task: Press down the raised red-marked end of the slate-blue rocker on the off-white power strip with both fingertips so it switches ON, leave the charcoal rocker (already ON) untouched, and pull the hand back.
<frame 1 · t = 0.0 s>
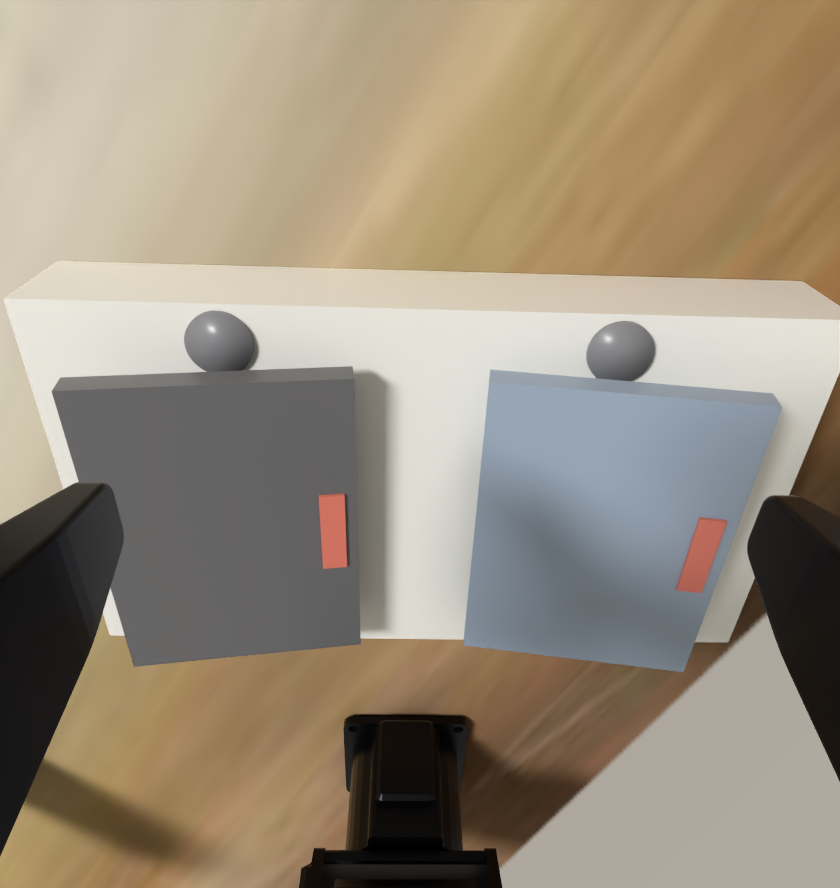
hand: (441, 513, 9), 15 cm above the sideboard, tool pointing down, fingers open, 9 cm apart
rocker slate: (595, 527, 22), point 5 cm above the sideboard, hinge at -8.0°
rocker charcoal: (234, 521, 22), point 5 cm above the sideboard, hinge at 8.0°
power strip: (427, 446, 26), on the sideboard
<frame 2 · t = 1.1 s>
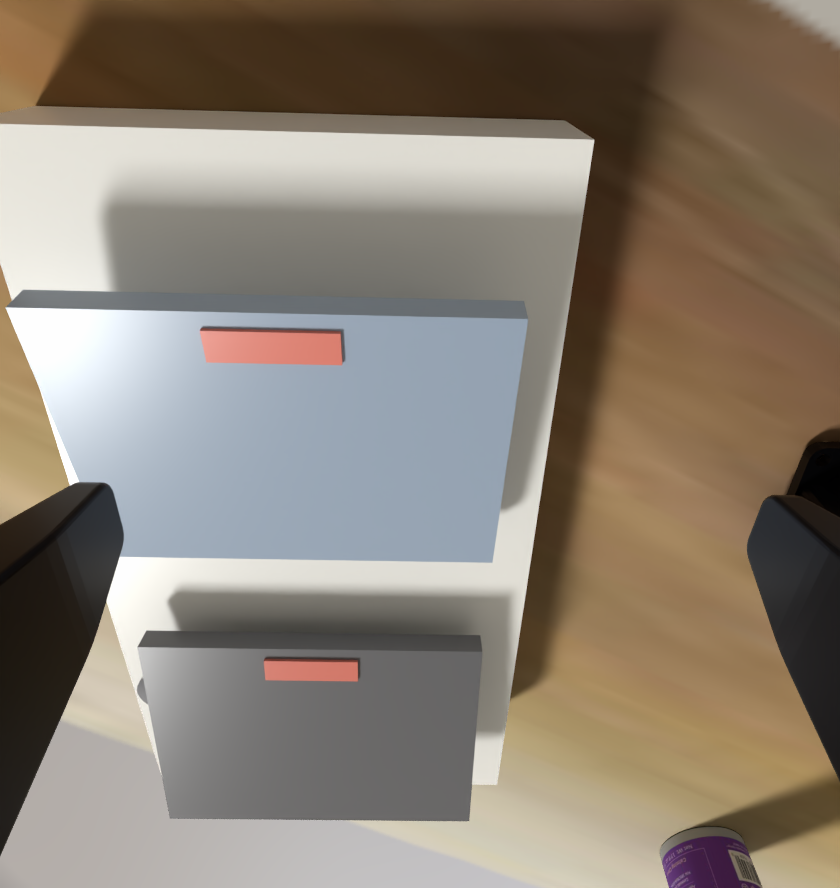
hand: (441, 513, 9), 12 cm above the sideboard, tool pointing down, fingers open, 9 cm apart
container: (700, 844, 38), on the sideboard
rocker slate: (293, 433, 17), point 5 cm above the sideboard, hinge at -8.0°
rocker charcoal: (318, 720, 24), point 5 cm above the sideboard, hinge at 8.0°
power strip: (325, 493, 24), on the sideboard
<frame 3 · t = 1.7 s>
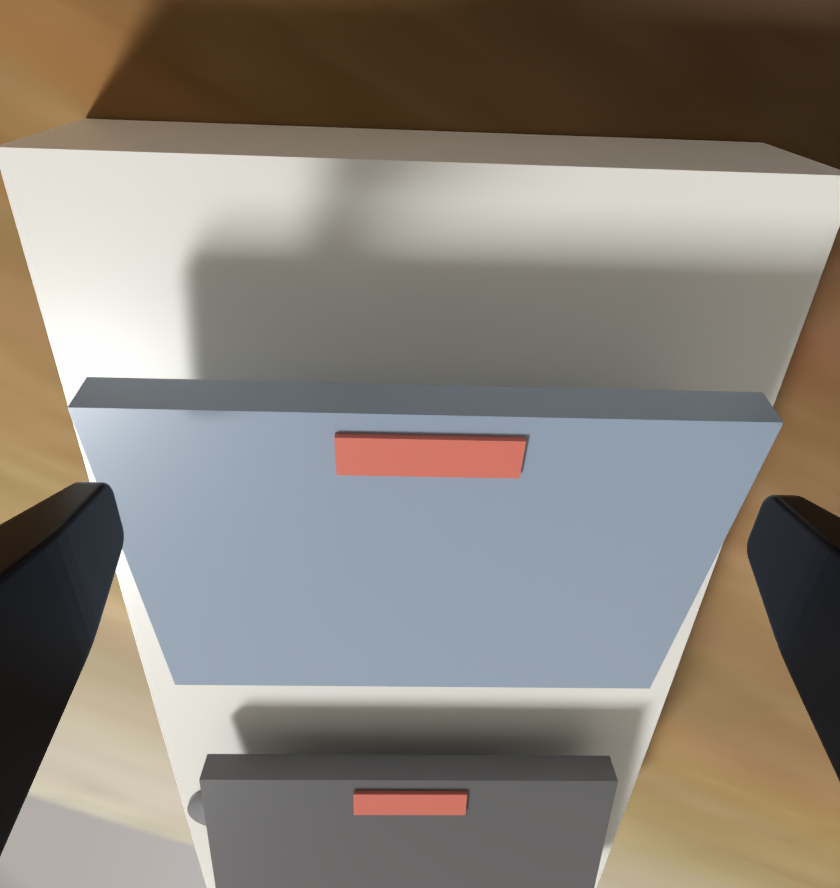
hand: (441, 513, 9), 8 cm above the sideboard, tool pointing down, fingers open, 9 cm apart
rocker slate: (421, 543, 13), point 5 cm above the sideboard, hinge at -8.0°
rocker charcoal: (407, 848, 20), point 5 cm above the sideboard, hinge at 8.0°
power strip: (412, 576, 20), on the sideboard
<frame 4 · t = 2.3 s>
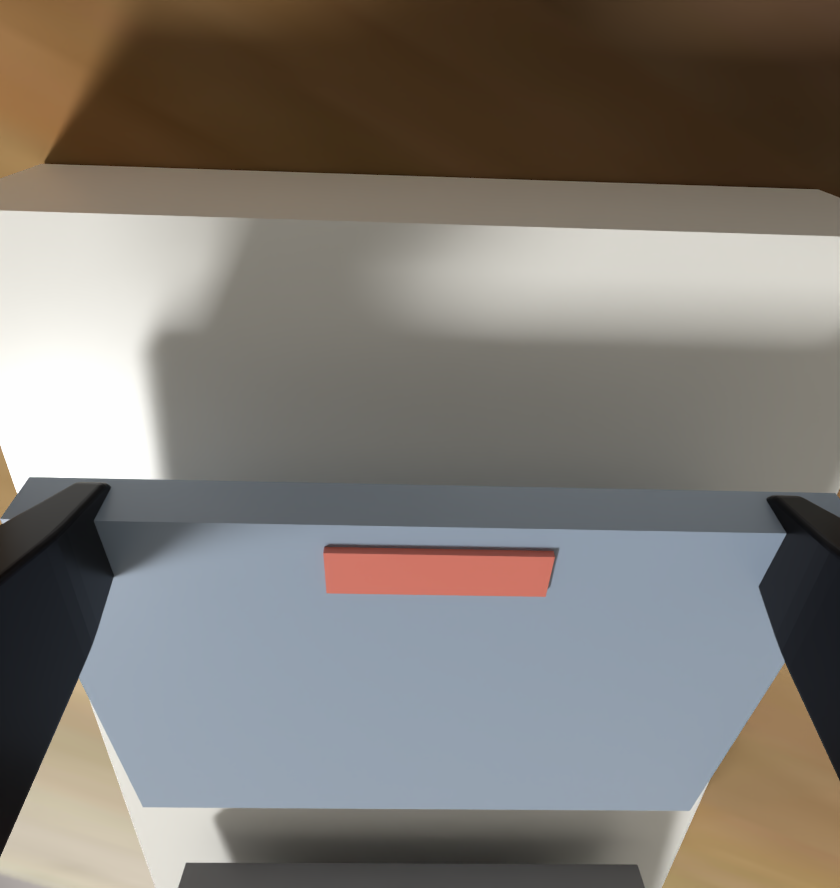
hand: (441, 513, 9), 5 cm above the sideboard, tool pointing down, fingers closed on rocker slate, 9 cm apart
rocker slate: (427, 654, 12), point 5 cm above the sideboard, hinge at -6.5°, touching gripper
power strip: (415, 653, 19), on the sideboard
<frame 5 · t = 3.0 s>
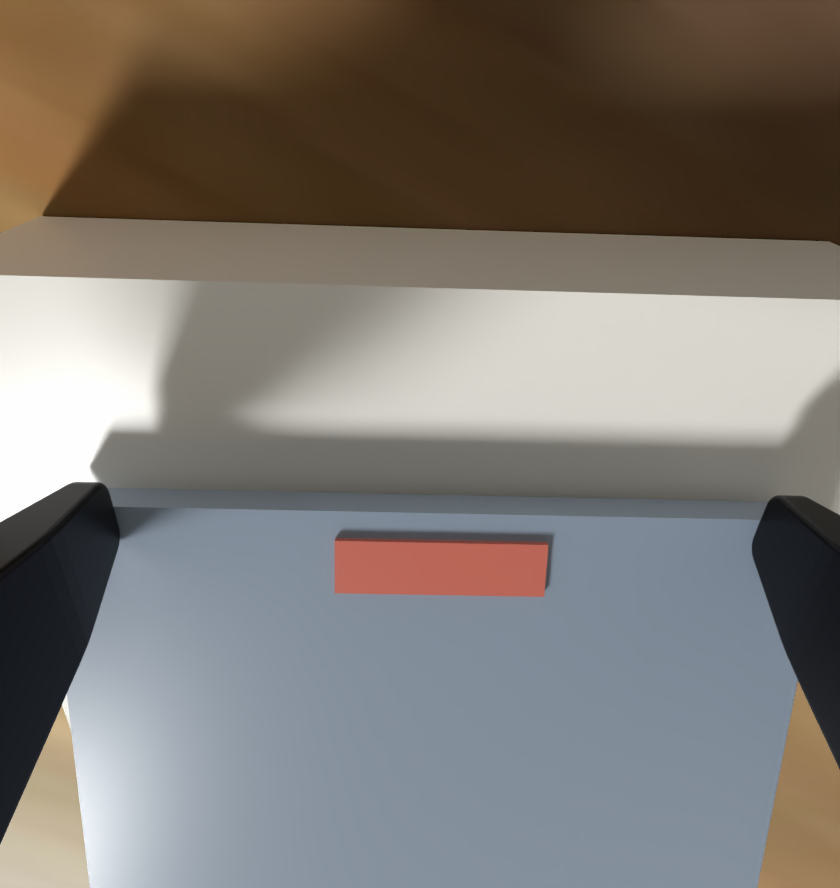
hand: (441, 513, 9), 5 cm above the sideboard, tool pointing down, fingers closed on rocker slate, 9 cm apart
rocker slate: (430, 719, 11), point 5 cm above the sideboard, hinge at 15.6°, touching gripper
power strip: (418, 701, 18), on the sideboard
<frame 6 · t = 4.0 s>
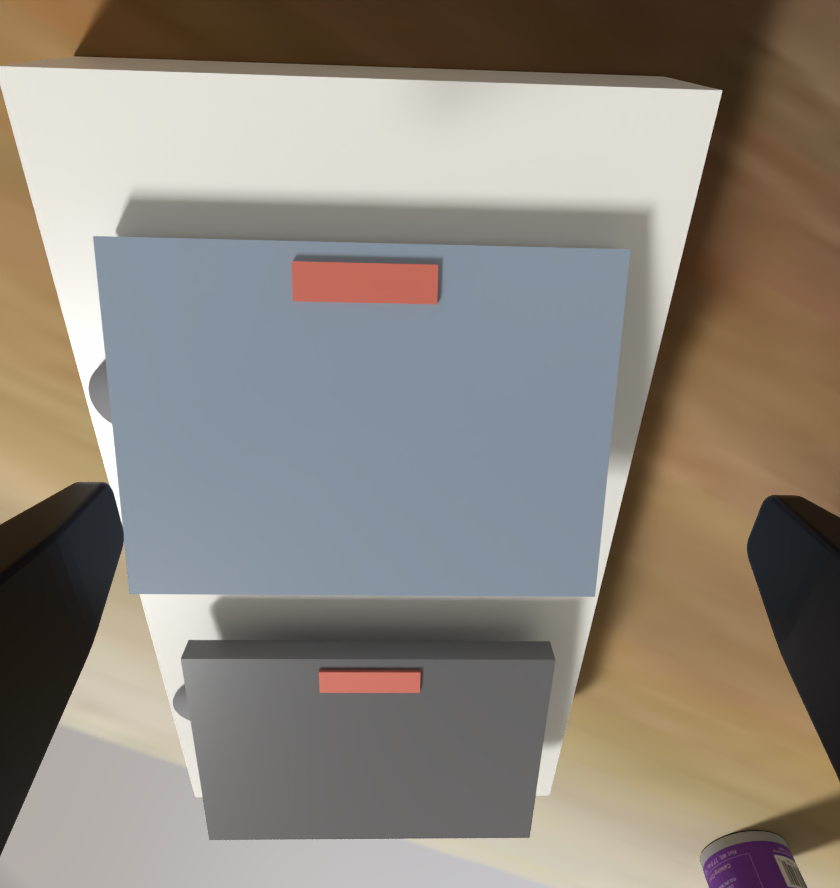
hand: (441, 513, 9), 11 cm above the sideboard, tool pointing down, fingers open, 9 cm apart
container: (741, 848, 37), on the sideboard
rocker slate: (367, 422, 16), point 5 cm above the sideboard, hinge at 17.4°
rocker charcoal: (371, 733, 22), point 5 cm above the sideboard, hinge at 8.0°
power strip: (375, 489, 23), on the sideboard
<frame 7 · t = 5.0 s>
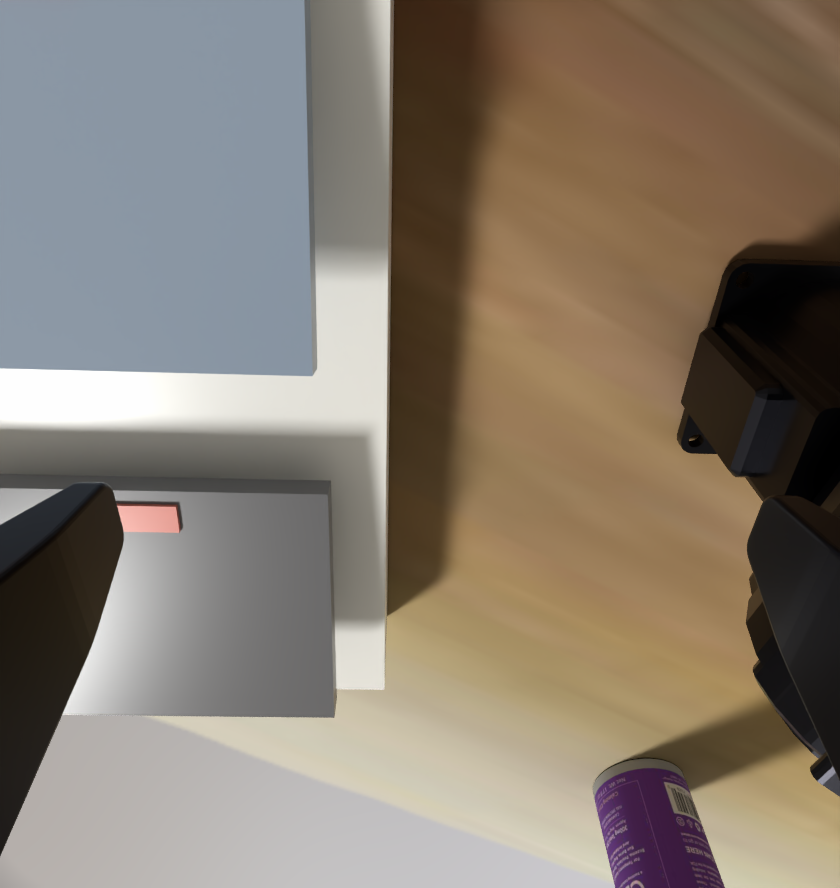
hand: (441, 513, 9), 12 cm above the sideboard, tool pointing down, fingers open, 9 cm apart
container: (636, 780, 34), on the sideboard
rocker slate: (41, 166, 13), point 5 cm above the sideboard, hinge at 13.7°
rocker charcoal: (150, 594, 20), point 5 cm above the sideboard, hinge at 8.0°
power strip: (162, 328, 20), on the sideboard
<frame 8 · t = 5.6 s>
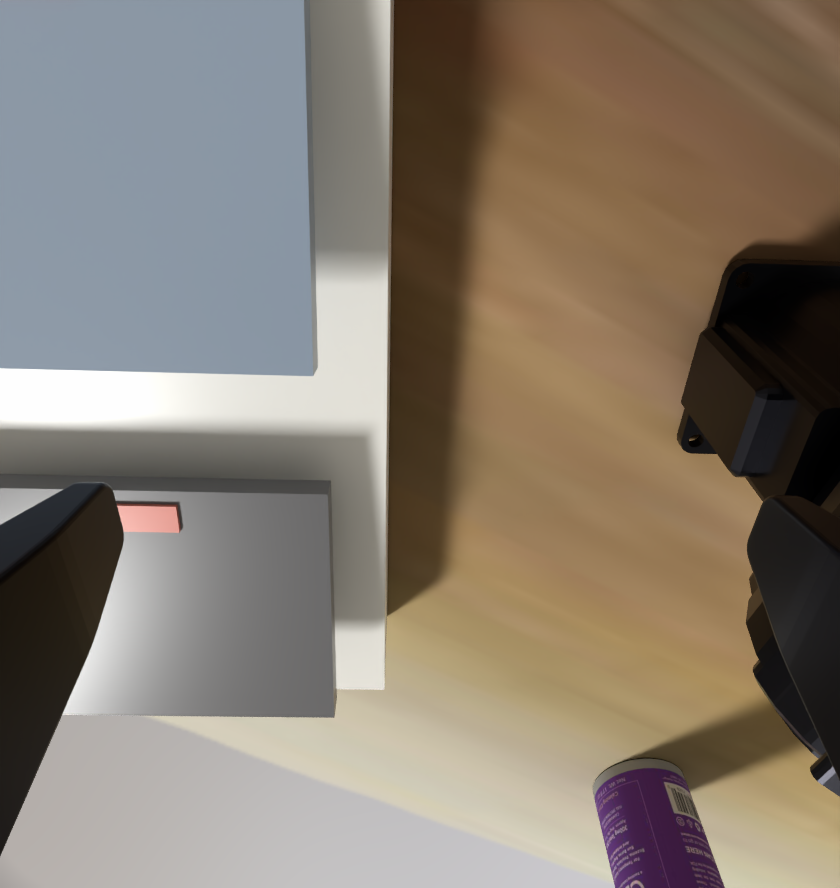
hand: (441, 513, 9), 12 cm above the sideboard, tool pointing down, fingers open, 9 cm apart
container: (636, 780, 34), on the sideboard
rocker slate: (41, 166, 13), point 5 cm above the sideboard, hinge at 12.3°
rocker charcoal: (150, 594, 20), point 5 cm above the sideboard, hinge at 8.0°
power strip: (162, 328, 20), on the sideboard
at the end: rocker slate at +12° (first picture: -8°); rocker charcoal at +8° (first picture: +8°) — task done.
